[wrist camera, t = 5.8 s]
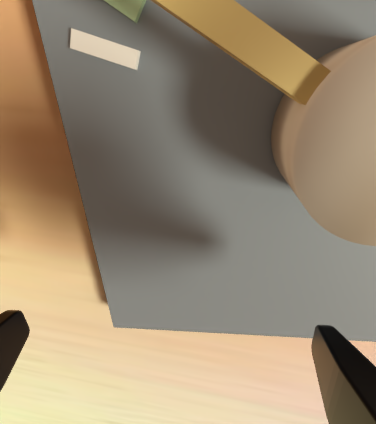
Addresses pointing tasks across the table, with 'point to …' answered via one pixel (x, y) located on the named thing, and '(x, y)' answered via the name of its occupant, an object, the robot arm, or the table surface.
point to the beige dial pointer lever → (308, 112)
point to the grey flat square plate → (200, 172)
